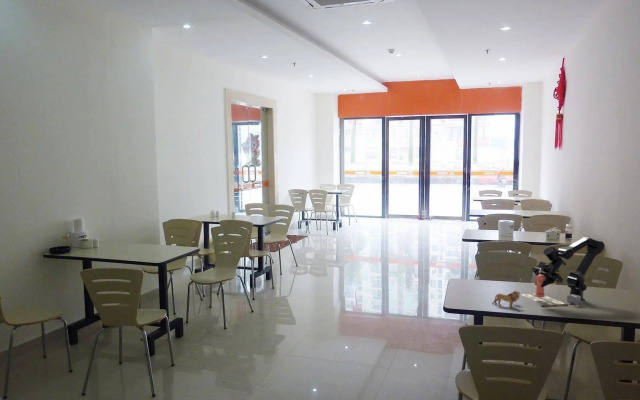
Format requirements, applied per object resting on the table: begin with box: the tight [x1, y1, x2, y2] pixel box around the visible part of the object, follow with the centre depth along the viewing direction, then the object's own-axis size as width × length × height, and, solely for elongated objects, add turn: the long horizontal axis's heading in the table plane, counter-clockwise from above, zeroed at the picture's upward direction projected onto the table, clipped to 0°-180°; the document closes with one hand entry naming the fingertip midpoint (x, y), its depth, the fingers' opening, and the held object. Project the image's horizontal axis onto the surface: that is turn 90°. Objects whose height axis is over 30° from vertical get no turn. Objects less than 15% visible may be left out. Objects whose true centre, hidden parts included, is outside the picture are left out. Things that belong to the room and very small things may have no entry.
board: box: [520, 293, 569, 309], centre depth 280 cm, size 16×23×1 cm
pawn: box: [534, 274, 546, 298], centre depth 276 cm, size 5×5×13 cm
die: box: [566, 294, 582, 307], centre depth 275 cm, size 5×5×5 cm
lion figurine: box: [491, 290, 521, 308], centre depth 270 cm, size 15×5×9 cm, turn 76°
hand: (538, 285), depth 276 cm, fingers closed on pawn, 4 cm apart
